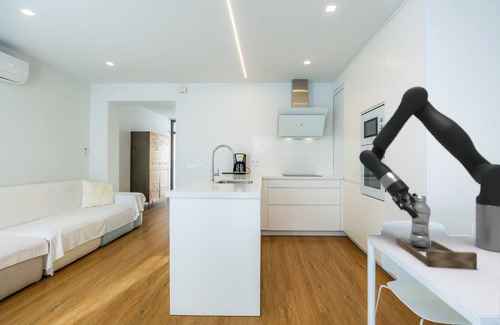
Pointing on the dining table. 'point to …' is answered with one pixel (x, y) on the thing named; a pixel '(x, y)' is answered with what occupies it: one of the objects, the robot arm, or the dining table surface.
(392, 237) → the dining table surface
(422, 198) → the plastic bottle
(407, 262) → the dining table surface
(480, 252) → the dining table surface
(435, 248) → the wooden tray frame
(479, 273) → the dining table surface
